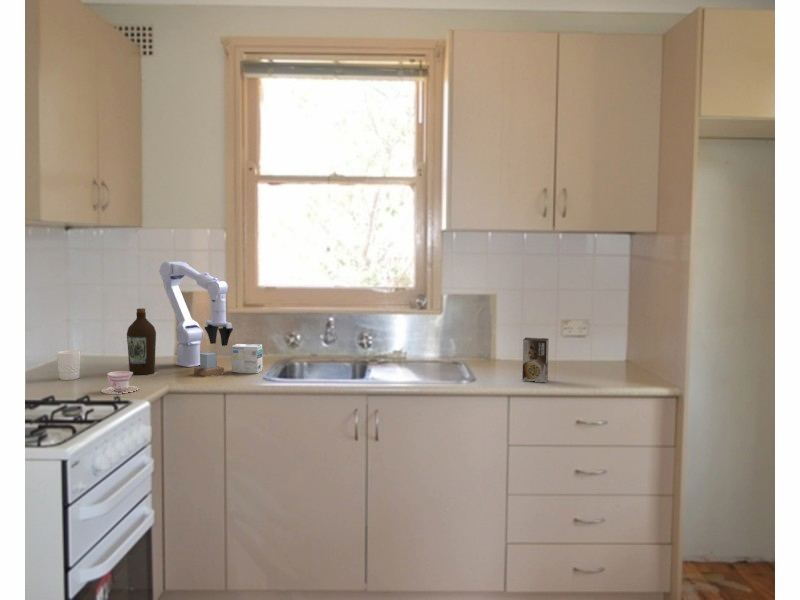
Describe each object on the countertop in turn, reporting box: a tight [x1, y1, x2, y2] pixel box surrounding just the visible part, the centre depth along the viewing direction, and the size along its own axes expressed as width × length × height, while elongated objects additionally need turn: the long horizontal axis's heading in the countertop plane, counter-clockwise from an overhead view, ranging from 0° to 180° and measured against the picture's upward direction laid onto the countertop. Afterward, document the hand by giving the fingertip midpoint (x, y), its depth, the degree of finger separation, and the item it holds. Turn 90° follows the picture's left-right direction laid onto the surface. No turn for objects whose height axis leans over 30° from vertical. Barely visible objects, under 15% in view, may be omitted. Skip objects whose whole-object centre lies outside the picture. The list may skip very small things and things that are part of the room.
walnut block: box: [193, 365, 225, 377], centre depth 272 cm, size 8×8×3 cm
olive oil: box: [126, 307, 157, 376], centre depth 272 cm, size 11×11×25 cm
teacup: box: [101, 370, 140, 395], centre depth 241 cm, size 12×12×6 cm
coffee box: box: [521, 337, 549, 384], centre depth 266 cm, size 9×6×16 cm
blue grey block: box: [199, 351, 218, 369], centre depth 272 cm, size 4×4×6 cm
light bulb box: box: [231, 343, 263, 374], centre depth 277 cm, size 11×7×11 cm, turn 84°
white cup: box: [56, 349, 81, 381], centre depth 260 cm, size 8×8×10 cm
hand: (218, 344), depth 282 cm, fingers open, 7 cm apart
